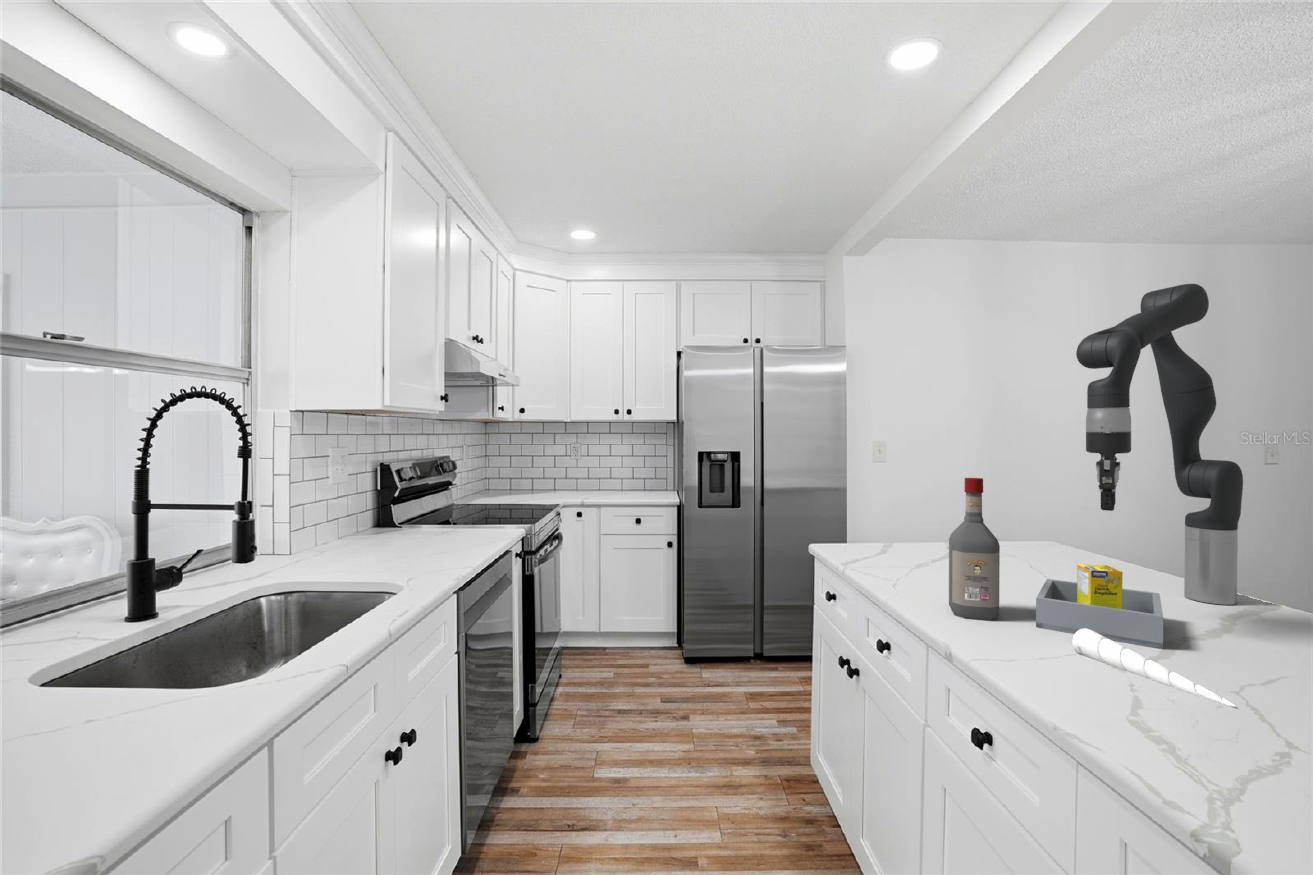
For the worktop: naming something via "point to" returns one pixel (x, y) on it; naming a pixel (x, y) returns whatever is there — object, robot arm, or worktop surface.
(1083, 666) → the worktop surface
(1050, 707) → the worktop surface
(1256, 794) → the worktop surface
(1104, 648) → the unicorn horn
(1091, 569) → the supplement box
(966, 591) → the liquor
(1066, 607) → the bin
